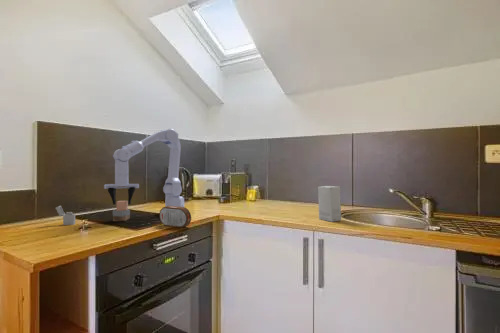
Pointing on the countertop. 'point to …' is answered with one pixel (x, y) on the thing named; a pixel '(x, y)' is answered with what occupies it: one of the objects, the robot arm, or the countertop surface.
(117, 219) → the walnut slab
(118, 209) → the terracotta cube
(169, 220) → the tin
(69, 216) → the lighter
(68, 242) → the countertop surface
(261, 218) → the countertop surface
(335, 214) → the skincare box
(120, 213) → the charcoal slab
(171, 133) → the robot arm
